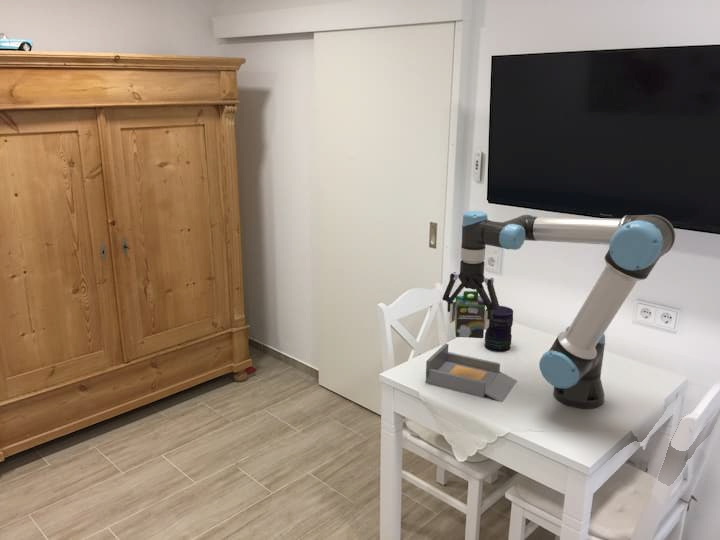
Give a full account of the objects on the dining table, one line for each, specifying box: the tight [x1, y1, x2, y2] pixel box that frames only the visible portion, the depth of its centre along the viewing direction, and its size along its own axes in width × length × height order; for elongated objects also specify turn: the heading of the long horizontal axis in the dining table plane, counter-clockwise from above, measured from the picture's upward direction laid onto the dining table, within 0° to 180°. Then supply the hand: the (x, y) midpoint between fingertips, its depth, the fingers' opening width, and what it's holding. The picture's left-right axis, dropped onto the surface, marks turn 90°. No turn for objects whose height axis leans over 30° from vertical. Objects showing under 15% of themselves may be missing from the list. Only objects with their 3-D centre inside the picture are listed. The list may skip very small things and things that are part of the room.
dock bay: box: [425, 343, 518, 403], centre depth 197 cm, size 26×16×8 cm, turn 60°
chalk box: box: [454, 290, 486, 339], centre depth 192 cm, size 9×9×15 cm
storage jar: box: [484, 305, 514, 353], centre depth 223 cm, size 10×10×15 cm
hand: (469, 324), depth 193 cm, fingers closed on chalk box, 11 cm apart
